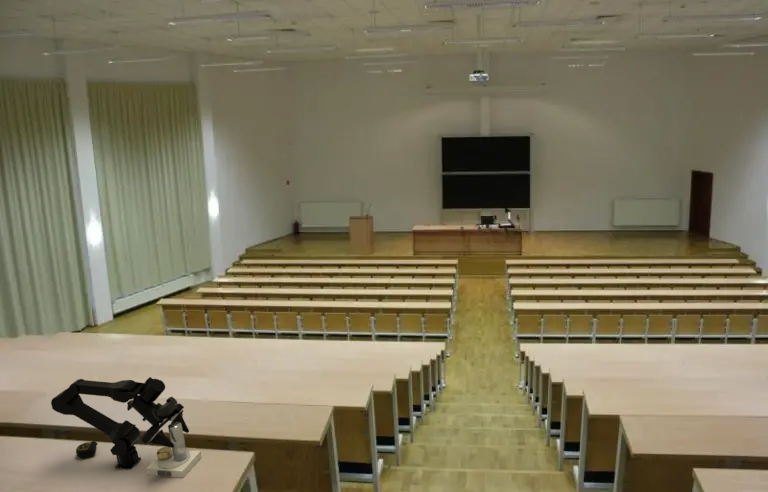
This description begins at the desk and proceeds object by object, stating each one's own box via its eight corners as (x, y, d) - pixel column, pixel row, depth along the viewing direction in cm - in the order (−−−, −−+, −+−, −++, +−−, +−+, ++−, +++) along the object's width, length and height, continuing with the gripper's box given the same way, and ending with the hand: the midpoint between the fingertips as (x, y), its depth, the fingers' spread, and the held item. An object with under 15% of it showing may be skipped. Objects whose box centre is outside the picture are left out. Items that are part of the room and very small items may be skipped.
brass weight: (155, 460, 209) (153, 454, 208) (163, 452, 213) (161, 446, 213) (166, 461, 207) (165, 455, 207) (174, 453, 212) (173, 447, 211)
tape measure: (96, 457, 220) (94, 448, 219) (75, 462, 218) (73, 453, 217) (98, 447, 226) (96, 439, 225) (79, 452, 224) (77, 443, 223)
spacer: (171, 461, 207) (165, 428, 204) (178, 454, 211) (172, 421, 208) (182, 462, 206) (176, 428, 203) (189, 454, 210) (183, 422, 207)
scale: (146, 475, 206) (145, 467, 205) (167, 454, 218) (166, 446, 217) (182, 478, 202) (180, 470, 202) (201, 457, 214) (200, 449, 213)
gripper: (142, 409, 195) (178, 440, 195) (175, 382, 213) (207, 411, 212) (126, 428, 199) (161, 460, 199) (159, 401, 216) (191, 430, 216)
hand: (181, 439), depth 207 cm, fingers open, 9 cm apart
